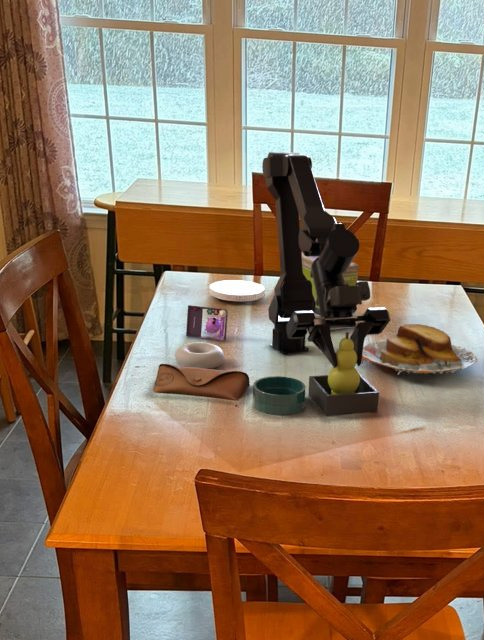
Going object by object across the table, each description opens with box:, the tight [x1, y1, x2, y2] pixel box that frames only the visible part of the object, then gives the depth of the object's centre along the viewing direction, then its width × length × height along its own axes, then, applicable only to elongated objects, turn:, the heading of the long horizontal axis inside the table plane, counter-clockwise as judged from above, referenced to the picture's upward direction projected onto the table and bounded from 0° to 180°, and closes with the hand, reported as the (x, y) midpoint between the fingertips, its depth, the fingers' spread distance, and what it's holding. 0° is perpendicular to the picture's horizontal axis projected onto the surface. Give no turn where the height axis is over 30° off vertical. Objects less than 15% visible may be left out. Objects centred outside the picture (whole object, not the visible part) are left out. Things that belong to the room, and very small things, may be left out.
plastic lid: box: [209, 279, 266, 302], centre depth 211 cm, size 14×14×2 cm
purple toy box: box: [185, 304, 229, 342], centre depth 184 cm, size 7×5×9 cm
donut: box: [174, 341, 225, 370], centre depth 169 cm, size 10×4×10 cm
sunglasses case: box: [152, 363, 250, 401], centre depth 157 cm, size 18×7×7 cm, turn 87°
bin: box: [307, 373, 380, 417], centre depth 155 cm, size 10×10×5 cm
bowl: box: [252, 375, 307, 416], centre depth 152 cm, size 10×10×4 cm
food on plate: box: [361, 323, 478, 376], centre depth 177 cm, size 25×25×7 cm
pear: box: [327, 331, 360, 395], centre depth 152 cm, size 6×6×12 cm
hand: (347, 366), depth 151 cm, fingers closed on pear, 4 cm apart
